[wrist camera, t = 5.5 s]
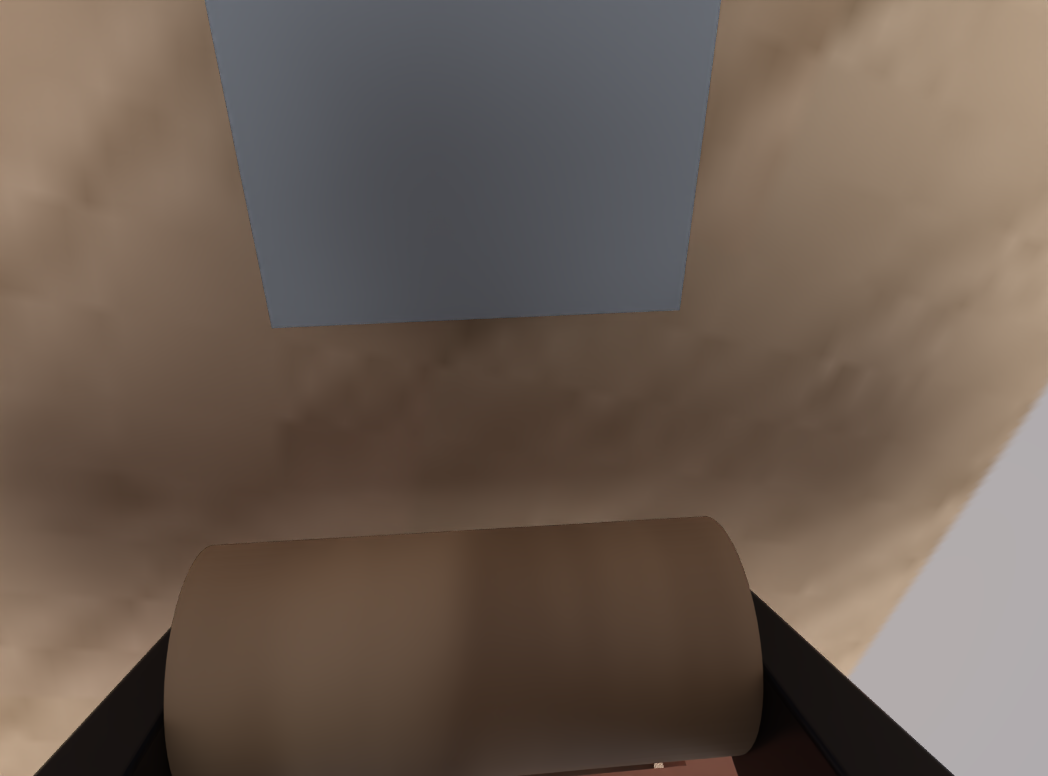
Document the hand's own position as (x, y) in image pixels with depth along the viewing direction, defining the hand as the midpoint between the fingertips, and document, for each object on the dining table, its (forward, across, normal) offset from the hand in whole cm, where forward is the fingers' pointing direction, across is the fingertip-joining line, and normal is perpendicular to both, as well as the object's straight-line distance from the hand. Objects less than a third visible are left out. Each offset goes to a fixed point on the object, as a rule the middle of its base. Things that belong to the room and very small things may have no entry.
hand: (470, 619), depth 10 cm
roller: (+1, 0, 0) cm, 1 cm away
